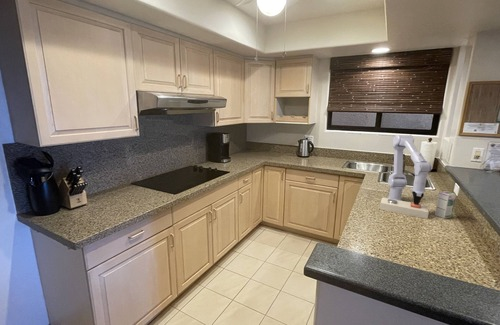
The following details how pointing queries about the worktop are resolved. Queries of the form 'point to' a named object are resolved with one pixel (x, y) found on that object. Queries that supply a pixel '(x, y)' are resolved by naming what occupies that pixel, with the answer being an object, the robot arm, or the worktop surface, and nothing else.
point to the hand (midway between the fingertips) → (415, 204)
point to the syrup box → (445, 204)
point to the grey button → (392, 201)
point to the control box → (404, 208)
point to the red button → (415, 205)
